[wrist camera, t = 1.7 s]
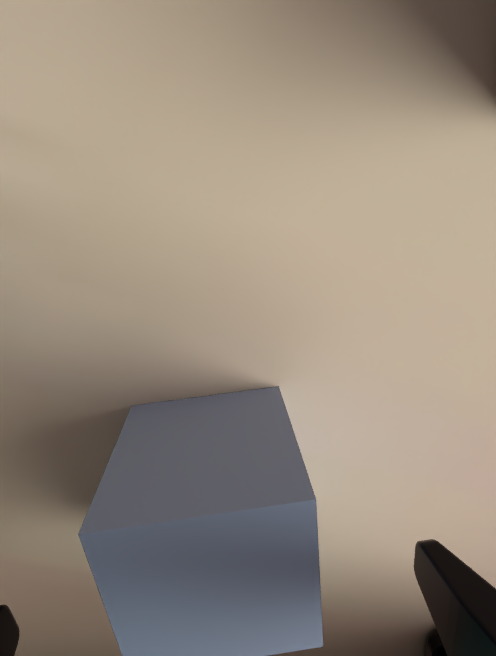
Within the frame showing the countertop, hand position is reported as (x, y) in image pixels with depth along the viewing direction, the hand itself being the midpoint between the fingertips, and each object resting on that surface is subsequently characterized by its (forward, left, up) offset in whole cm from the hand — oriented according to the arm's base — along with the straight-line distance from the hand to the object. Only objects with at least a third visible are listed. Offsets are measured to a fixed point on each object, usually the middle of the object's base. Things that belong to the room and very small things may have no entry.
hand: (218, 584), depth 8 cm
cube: (0, 0, -4) cm, 4 cm away
